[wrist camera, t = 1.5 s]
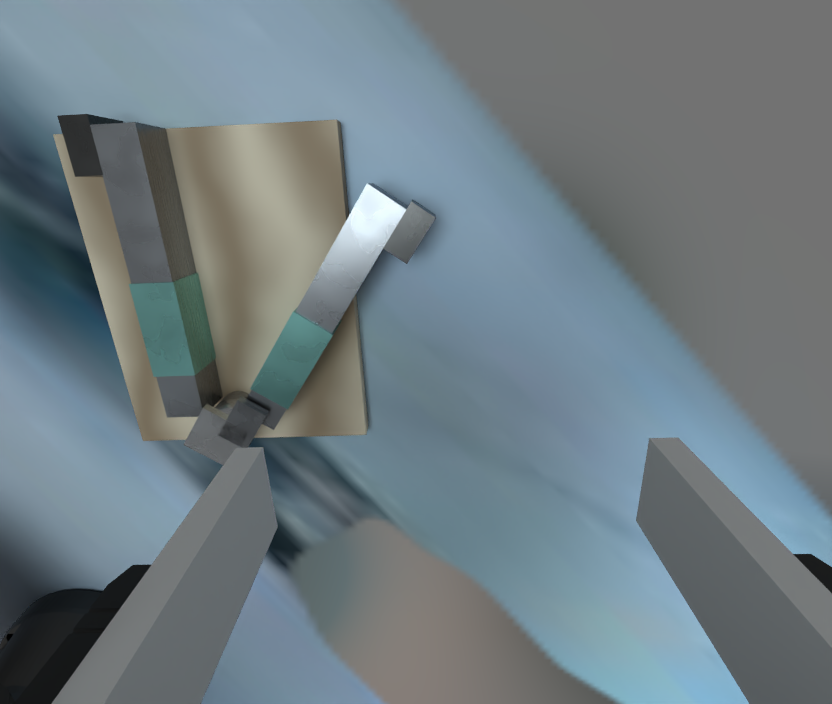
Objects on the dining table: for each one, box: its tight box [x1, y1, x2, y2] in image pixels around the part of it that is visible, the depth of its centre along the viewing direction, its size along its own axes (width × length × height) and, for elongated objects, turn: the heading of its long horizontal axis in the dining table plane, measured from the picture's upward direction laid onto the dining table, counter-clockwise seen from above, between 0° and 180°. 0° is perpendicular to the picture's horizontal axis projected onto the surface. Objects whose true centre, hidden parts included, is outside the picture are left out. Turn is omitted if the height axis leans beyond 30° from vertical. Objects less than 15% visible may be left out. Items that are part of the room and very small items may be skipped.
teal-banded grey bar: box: [58, 114, 249, 418], centre depth 28 cm, size 7×20×3 cm, turn 2°
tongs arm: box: [184, 183, 436, 465], centre depth 29 cm, size 6×21×4 cm, turn 147°
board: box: [53, 120, 368, 441], centre depth 31 cm, size 17×21×1 cm
